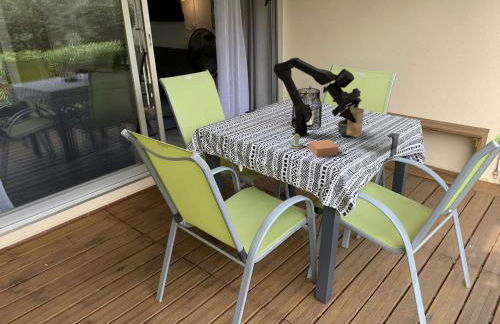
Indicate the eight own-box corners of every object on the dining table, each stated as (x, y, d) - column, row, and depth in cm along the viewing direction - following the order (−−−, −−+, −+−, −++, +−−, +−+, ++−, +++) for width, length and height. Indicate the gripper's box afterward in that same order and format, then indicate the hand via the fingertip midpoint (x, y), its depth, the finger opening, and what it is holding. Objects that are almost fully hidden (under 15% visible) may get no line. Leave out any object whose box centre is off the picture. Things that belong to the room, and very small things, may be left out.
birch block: (346, 134, 171) (348, 109, 166) (351, 132, 174) (353, 107, 169) (356, 136, 168) (358, 111, 163) (361, 134, 171) (363, 108, 166)
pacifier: (303, 150, 171) (304, 145, 177) (303, 137, 169) (304, 132, 174) (287, 149, 173) (289, 144, 178) (287, 136, 170) (289, 132, 176)
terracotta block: (308, 149, 172) (308, 141, 170) (328, 147, 174) (329, 139, 172) (316, 157, 163) (317, 149, 161) (337, 155, 165) (338, 146, 163)
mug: (336, 137, 185) (337, 118, 181) (338, 130, 196) (339, 111, 192) (355, 139, 182) (357, 119, 178) (356, 131, 193) (358, 112, 189)
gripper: (340, 86, 158) (361, 115, 155) (359, 79, 171) (379, 106, 168) (323, 102, 166) (343, 130, 163) (342, 94, 178) (362, 120, 176)
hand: (358, 121), depth 167 cm, fingers closed on birch block, 5 cm apart
